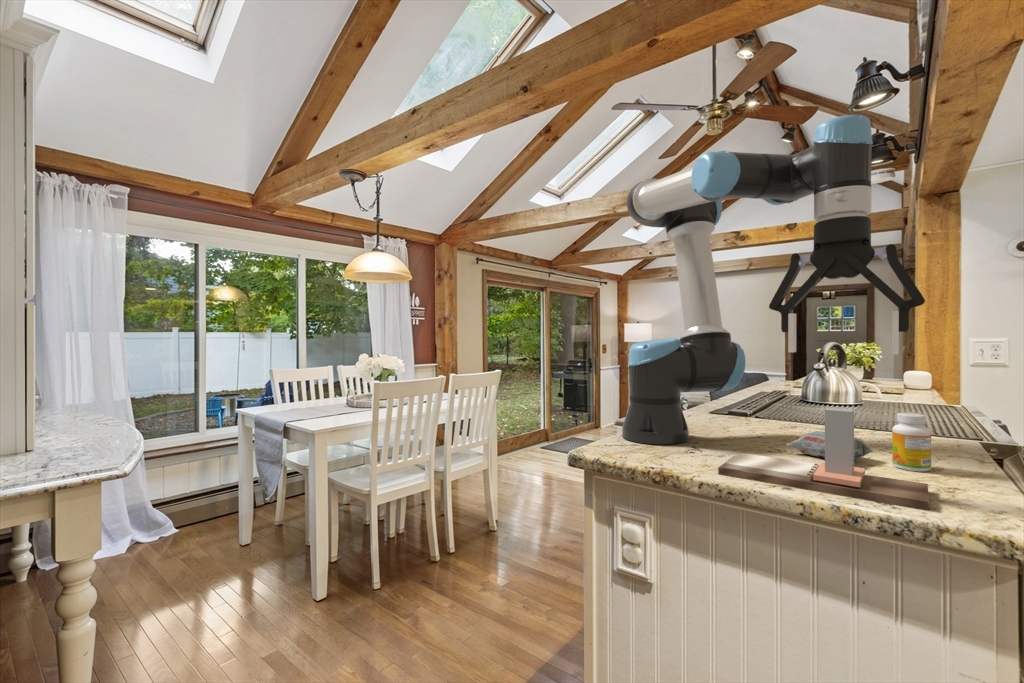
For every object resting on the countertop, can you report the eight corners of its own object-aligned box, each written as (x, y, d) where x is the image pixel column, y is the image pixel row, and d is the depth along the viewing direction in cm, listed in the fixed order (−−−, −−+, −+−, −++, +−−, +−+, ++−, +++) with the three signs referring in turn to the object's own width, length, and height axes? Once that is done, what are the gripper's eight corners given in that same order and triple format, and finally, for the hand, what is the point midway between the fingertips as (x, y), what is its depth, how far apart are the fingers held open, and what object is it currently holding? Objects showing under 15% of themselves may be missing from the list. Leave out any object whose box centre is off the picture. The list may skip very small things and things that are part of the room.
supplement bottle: (890, 462, 90) (890, 411, 90) (927, 466, 87) (927, 413, 87) (894, 469, 86) (894, 415, 86) (934, 474, 83) (934, 417, 83)
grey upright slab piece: (813, 479, 76) (812, 411, 75) (821, 467, 82) (821, 404, 82) (859, 487, 72) (859, 415, 72) (864, 473, 79) (864, 407, 78)
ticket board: (718, 474, 84) (718, 462, 84) (734, 461, 92) (734, 450, 92) (929, 510, 66) (929, 495, 66) (927, 491, 74) (927, 477, 74)
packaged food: (846, 468, 87) (846, 441, 87) (785, 454, 98) (785, 429, 98) (874, 462, 91) (874, 437, 91) (812, 449, 102) (812, 426, 102)
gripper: (750, 227, 81) (750, 352, 82) (949, 200, 65) (947, 356, 66) (760, 233, 87) (760, 350, 88) (946, 210, 71) (944, 353, 72)
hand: (840, 353), depth 77 cm, fingers open, 13 cm apart
